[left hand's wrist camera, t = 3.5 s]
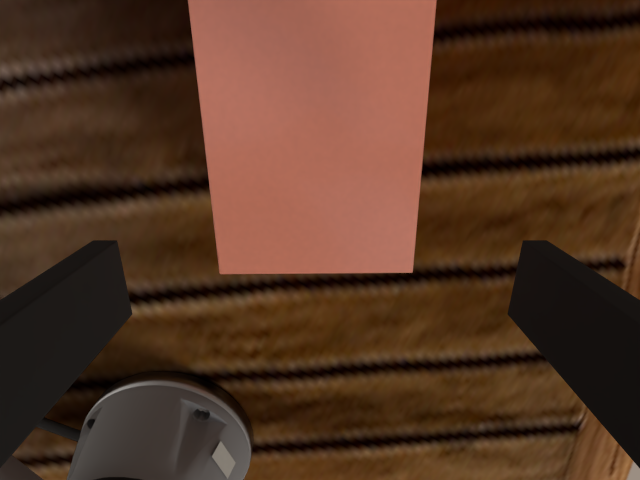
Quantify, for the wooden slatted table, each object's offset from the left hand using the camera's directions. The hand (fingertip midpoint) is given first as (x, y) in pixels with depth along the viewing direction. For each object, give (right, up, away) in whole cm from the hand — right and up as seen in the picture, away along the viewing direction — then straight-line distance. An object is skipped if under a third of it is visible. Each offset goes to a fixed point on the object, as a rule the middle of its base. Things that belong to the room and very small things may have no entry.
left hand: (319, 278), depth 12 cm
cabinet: (0, +12, +12) cm, 17 cm away
